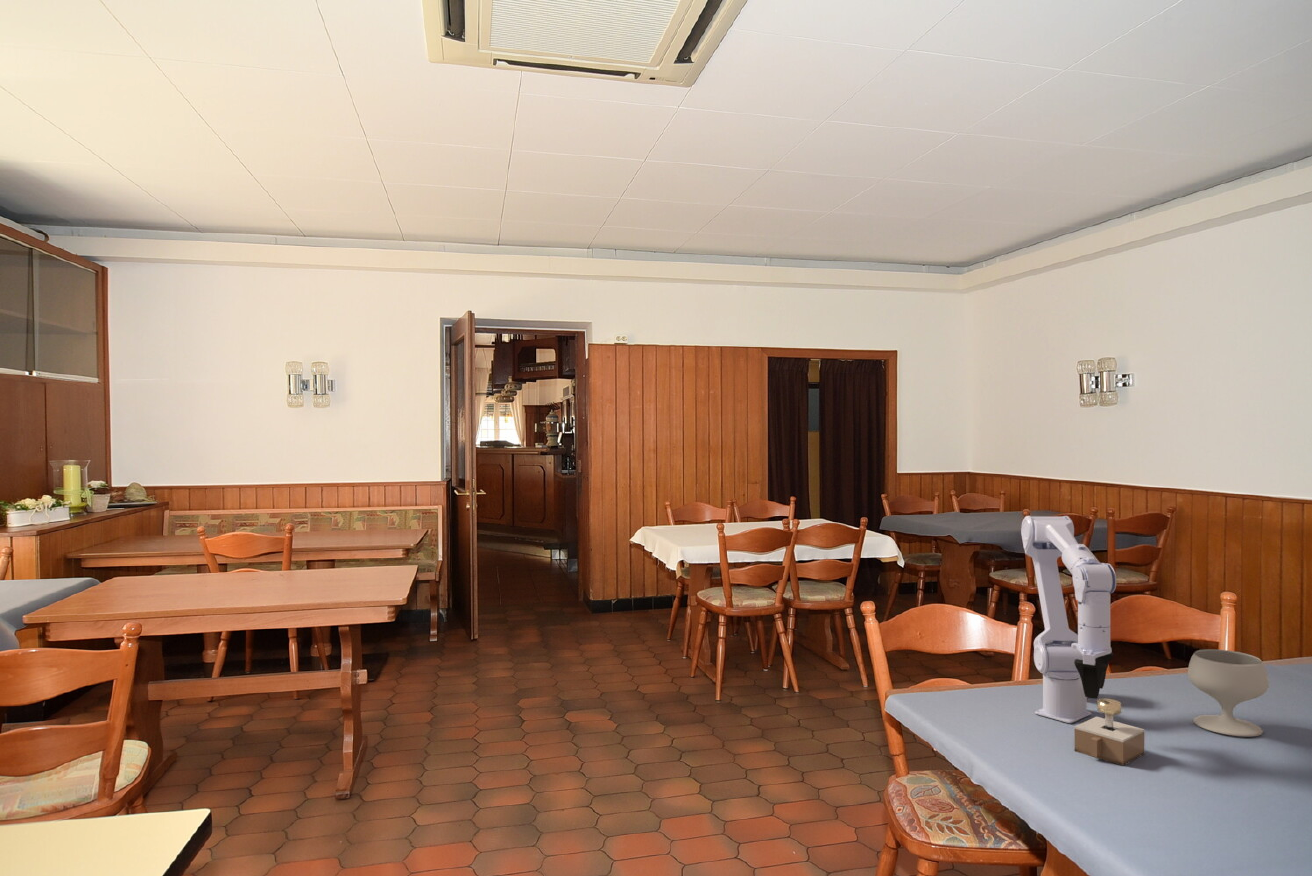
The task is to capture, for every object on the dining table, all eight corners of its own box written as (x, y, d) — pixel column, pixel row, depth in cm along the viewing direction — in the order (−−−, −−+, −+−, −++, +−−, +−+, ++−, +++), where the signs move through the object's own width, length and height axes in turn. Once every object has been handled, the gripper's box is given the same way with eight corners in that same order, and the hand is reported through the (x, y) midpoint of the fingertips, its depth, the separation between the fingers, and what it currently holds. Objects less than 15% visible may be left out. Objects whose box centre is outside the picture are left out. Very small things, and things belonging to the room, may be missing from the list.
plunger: (1103, 729, 162) (1103, 697, 162) (1124, 735, 159) (1124, 702, 159) (1093, 733, 160) (1093, 701, 160) (1115, 740, 157) (1115, 706, 157)
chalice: (1272, 745, 163) (1272, 670, 162) (1188, 732, 170) (1188, 659, 170) (1265, 723, 174) (1265, 653, 174) (1187, 711, 182) (1187, 644, 182)
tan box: (1096, 740, 166) (1096, 716, 166) (1144, 754, 159) (1144, 729, 159) (1070, 753, 159) (1069, 728, 159) (1118, 768, 152) (1118, 742, 152)
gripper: (1077, 615, 172) (1077, 679, 172) (1065, 629, 160) (1065, 698, 160) (1115, 619, 168) (1116, 685, 168) (1106, 634, 156) (1106, 705, 156)
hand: (1094, 692), depth 164 cm, fingers open, 7 cm apart
